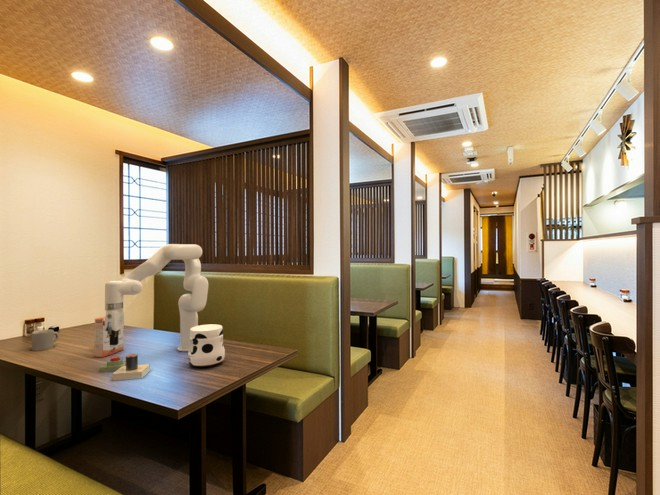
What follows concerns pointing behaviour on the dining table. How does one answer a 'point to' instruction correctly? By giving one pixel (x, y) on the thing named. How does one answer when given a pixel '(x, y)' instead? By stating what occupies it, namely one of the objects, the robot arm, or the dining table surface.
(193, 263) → the robot arm
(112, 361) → the button
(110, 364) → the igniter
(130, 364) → the knob
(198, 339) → the milk container
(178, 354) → the dining table surface
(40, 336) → the coffee mug
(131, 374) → the panel
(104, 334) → the cracker box
